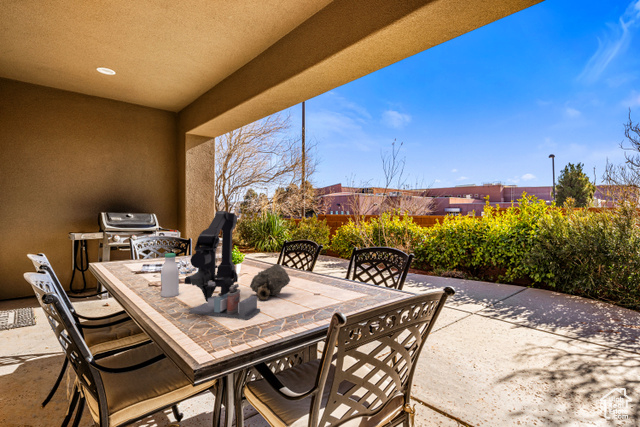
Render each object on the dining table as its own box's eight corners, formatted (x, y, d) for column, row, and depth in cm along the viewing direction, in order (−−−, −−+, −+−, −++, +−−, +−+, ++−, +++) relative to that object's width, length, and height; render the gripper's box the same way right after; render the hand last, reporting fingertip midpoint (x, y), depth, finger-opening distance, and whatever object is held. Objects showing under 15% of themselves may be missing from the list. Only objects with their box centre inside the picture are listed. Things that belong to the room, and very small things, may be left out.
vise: (204, 305, 132) (205, 291, 132) (260, 311, 125) (260, 296, 125) (189, 313, 122) (189, 297, 122) (248, 319, 116) (248, 303, 115)
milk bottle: (182, 294, 150) (182, 253, 150) (169, 298, 143) (170, 255, 143) (169, 292, 153) (170, 252, 152) (156, 296, 145) (157, 254, 145)
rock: (276, 258, 157) (271, 257, 142) (294, 280, 155) (292, 281, 140) (248, 283, 154) (240, 284, 140) (266, 305, 153) (261, 309, 138)
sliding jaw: (217, 303, 130) (217, 291, 130) (234, 305, 128) (234, 293, 128) (202, 310, 121) (203, 298, 121) (220, 312, 119) (220, 299, 119)
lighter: (232, 313, 119) (233, 287, 118) (224, 313, 119) (225, 287, 119) (242, 307, 126) (242, 283, 126) (234, 306, 127) (234, 282, 127)
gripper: (174, 265, 121) (174, 305, 121) (216, 268, 116) (216, 310, 116) (193, 261, 131) (193, 297, 131) (232, 263, 126) (232, 301, 126)
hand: (207, 301), depth 126 cm, fingers closed
